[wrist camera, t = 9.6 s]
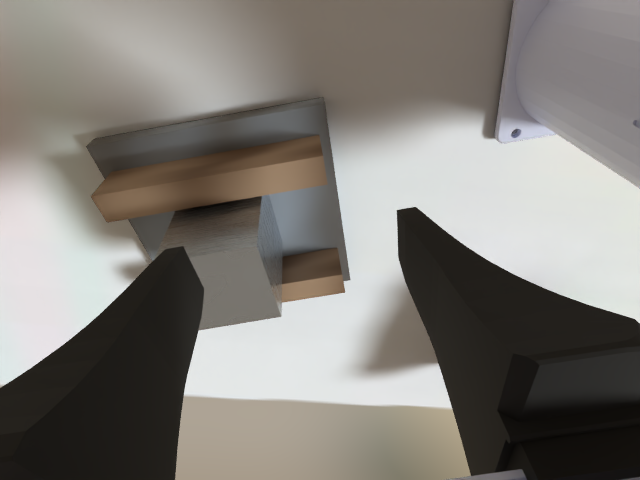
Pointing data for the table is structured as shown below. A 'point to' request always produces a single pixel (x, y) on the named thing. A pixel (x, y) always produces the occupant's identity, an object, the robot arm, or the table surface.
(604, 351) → the robot arm
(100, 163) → the slot seat
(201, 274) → the steel block
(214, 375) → the table surface
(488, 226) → the table surface
